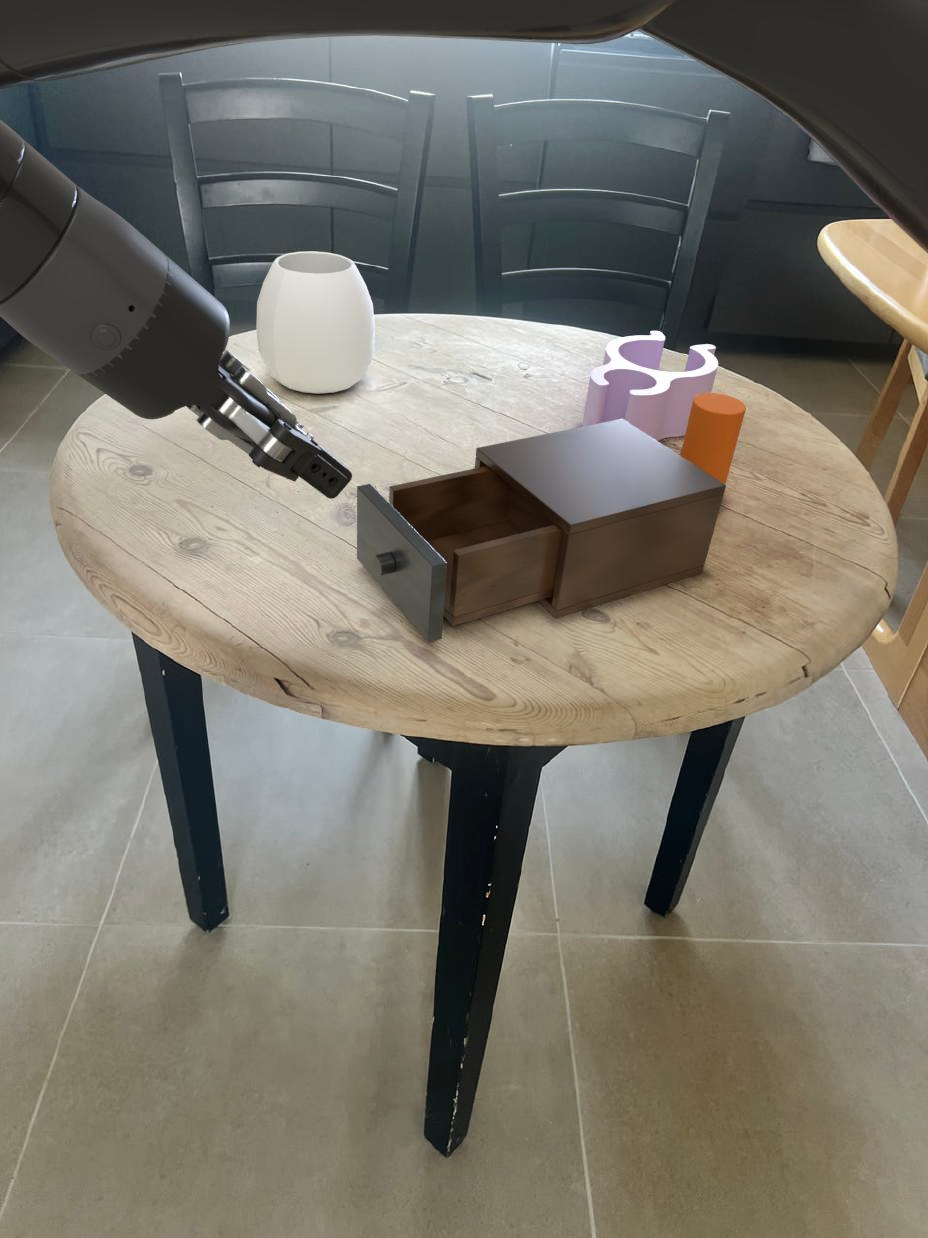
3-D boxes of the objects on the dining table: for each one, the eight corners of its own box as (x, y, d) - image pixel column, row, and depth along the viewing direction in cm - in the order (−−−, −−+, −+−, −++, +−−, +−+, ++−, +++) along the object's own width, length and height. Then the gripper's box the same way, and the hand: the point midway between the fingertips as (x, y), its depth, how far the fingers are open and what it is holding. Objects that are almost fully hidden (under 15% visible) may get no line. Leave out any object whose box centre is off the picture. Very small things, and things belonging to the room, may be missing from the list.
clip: (659, 468, 94) (673, 406, 90) (552, 434, 98) (561, 373, 94) (721, 407, 108) (736, 350, 104) (625, 380, 113) (635, 325, 108)
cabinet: (555, 618, 72) (570, 525, 66) (468, 535, 81) (475, 447, 76) (702, 573, 78) (726, 485, 73) (607, 501, 88) (622, 418, 82)
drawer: (413, 647, 66) (417, 570, 62) (343, 562, 74) (342, 488, 70) (586, 595, 73) (599, 522, 69) (504, 522, 81) (511, 453, 77)
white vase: (397, 381, 107) (400, 263, 99) (320, 415, 98) (317, 289, 90) (315, 351, 113) (311, 238, 105) (235, 380, 104) (225, 259, 96)
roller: (693, 514, 87) (718, 417, 81) (661, 492, 90) (682, 396, 84) (730, 504, 89) (757, 409, 83) (697, 483, 92) (720, 389, 86)
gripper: (198, 288, 41) (426, 484, 53) (126, 217, 49) (335, 399, 62) (94, 416, 41) (343, 579, 54) (42, 323, 50) (265, 482, 63)
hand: (338, 483), depth 58 cm, fingers closed
